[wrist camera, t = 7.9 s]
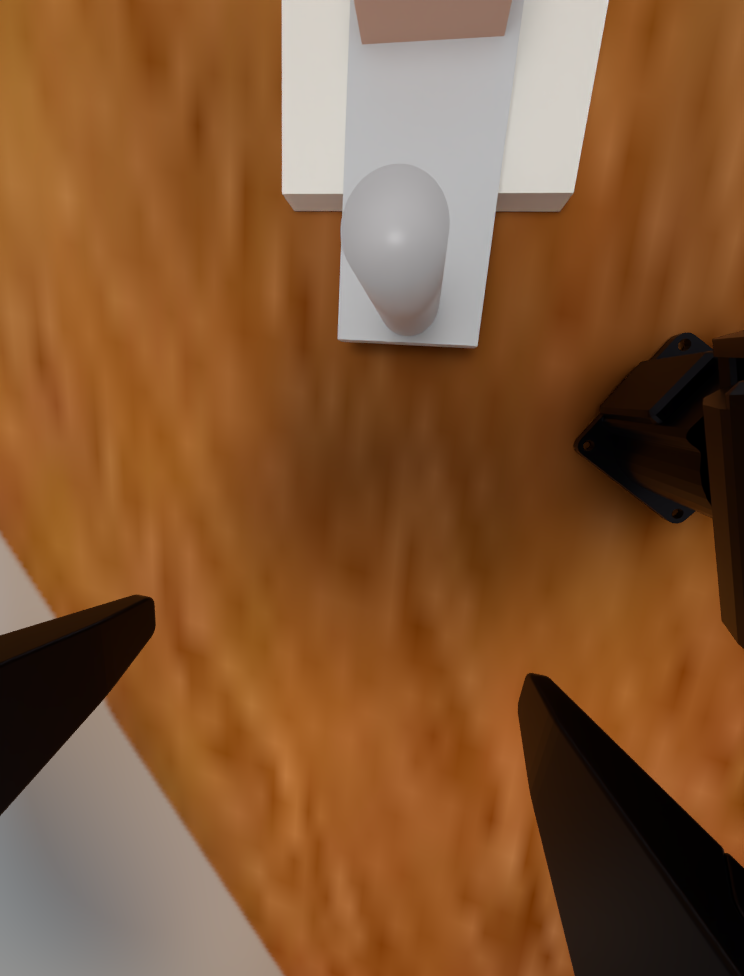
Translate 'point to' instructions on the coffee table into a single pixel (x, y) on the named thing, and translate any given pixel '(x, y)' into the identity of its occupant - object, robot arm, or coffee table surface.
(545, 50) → the board
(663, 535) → the coffee table surface
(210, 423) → the coffee table surface
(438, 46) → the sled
